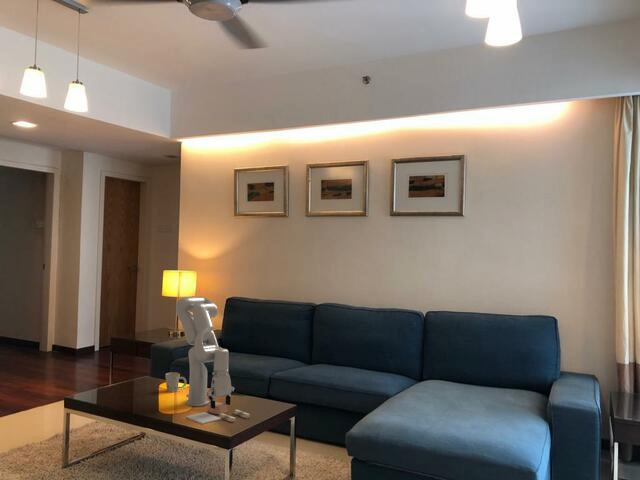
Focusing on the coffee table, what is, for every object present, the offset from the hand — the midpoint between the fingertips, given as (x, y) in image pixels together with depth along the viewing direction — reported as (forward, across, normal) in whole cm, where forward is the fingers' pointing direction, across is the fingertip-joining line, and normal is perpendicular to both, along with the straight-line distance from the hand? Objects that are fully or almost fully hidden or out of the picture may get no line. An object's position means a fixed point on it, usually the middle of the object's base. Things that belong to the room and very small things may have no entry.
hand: (220, 406), depth 267 cm
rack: (+4, 0, -12) cm, 13 cm away
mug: (+2, +7, +53) cm, 53 cm away
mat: (+3, -12, -2) cm, 13 cm away
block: (+4, 0, +2) cm, 4 cm away
